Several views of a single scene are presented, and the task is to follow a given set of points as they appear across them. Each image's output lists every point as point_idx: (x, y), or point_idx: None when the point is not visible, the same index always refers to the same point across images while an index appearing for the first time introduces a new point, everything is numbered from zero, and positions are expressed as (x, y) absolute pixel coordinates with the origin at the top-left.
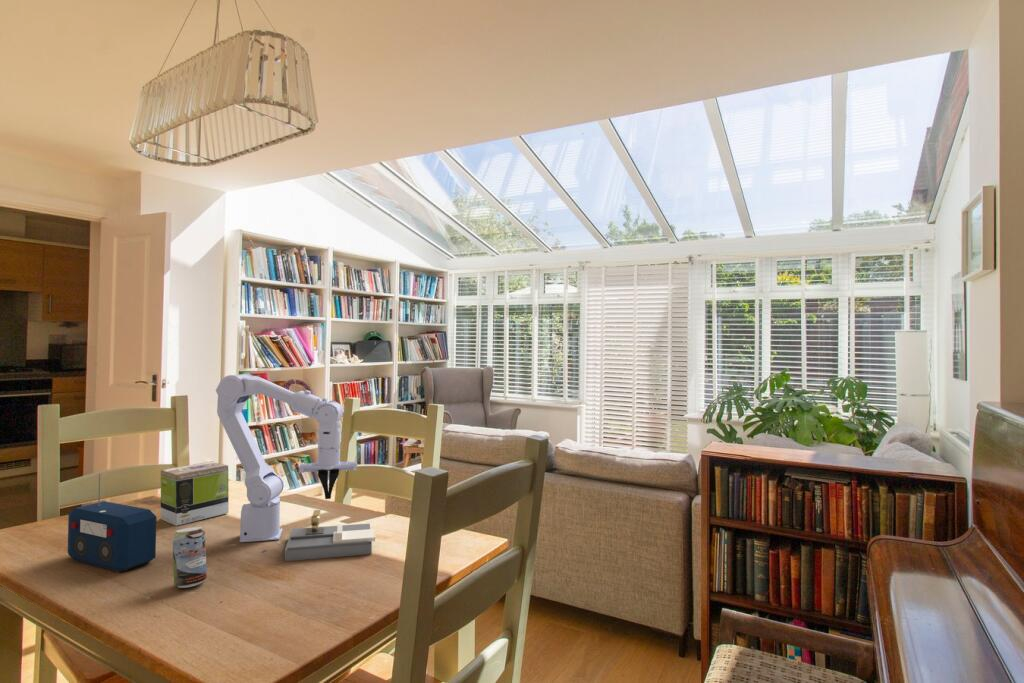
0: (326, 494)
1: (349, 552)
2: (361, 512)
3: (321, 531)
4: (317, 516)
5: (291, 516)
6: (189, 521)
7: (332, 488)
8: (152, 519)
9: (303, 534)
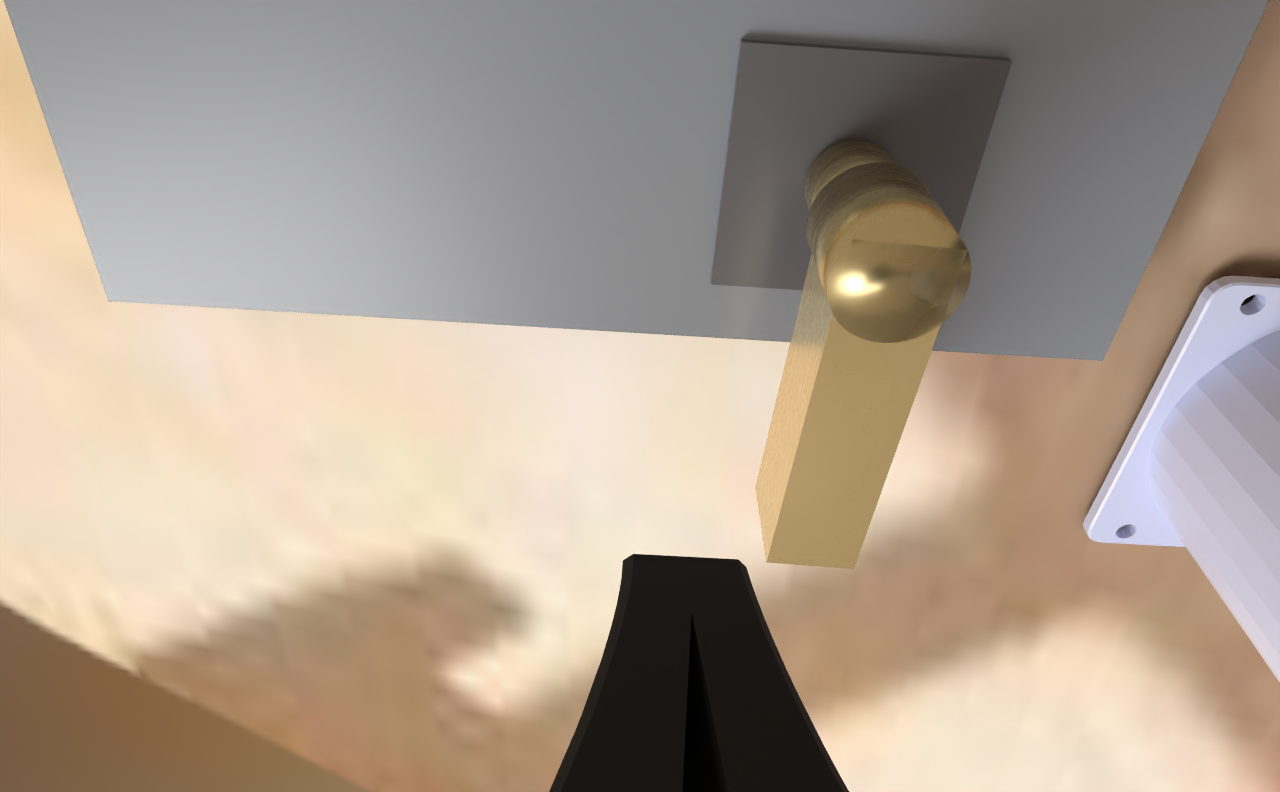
0: (731, 634)
1: None
2: (360, 739)
3: (764, 117)
4: (861, 275)
5: (919, 770)
6: None
7: (565, 765)
8: None
9: (1028, 87)
